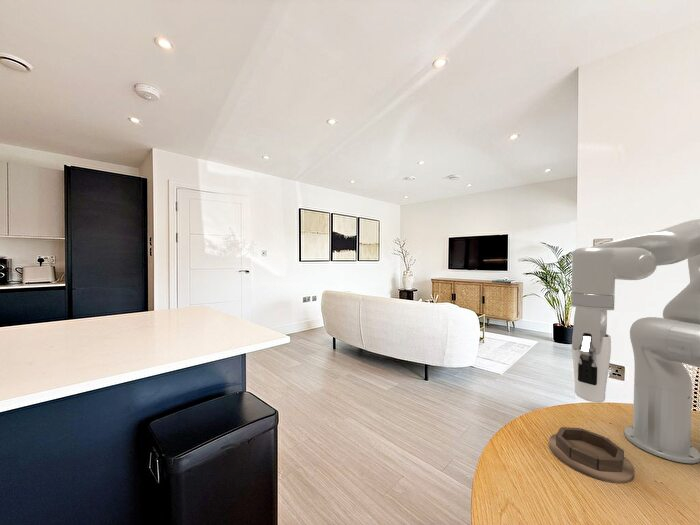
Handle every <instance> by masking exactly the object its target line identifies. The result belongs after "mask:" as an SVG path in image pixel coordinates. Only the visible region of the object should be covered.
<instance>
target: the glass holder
mask: <svg viewBox="0 0 700 525" xmlns="http://www.w3.org/2000/svg"><path fill="white" fill-rule="evenodd" d="M548 447H549V450H550V452H551V454H552V455H554V457H555V458H557V460H559V461H560V462H562V463H563V464H565V465H566V466H568V468H571V469H572V470H574V471H576V472H578V473H580V474H582V475H584V476H587V477H590V478H592V479H595V480H599V481H602V482H606V483H612V484H627V483H630V482H632V481H633V480H634V477H635V468H634V466H633V464H632V462H631V461H630V460H629V459H628V458H627V457H626V456H625V451H624V449H623V448H621V447H620V446H619V445H618V444H616V443H614V442H613V441H612V440H611V439H609V438H607V437H606V436H603V435H601V434H598V433H596V432H593V431H590V430H587V429H584V428H582V427H581V428H580V427H570V426H569V427H567V426H566V427H565V426H561V427H559V429H558V431H557V433H554V434H552V435H550V436H549V438H548Z"/></svg>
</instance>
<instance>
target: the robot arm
mask: <svg viewBox="0 0 700 525" xmlns="http://www.w3.org/2000/svg"><path fill="white" fill-rule="evenodd" d="M571 260H572V261H571V295H570V296H571V298H570V299H571V300H570V302H571V303H570V304H571V307H575V310H574V315H573V316H574V317H573V324H572V325H573V326H572V336H573V339H571V340H572V341H571V349H572V348H573V349H574V350H577V349H579V348H580V356H579V363H578V381H580V382H583V383H587V384H591V385H597V367H596V355H597V354H600V353H601V349H602V344H603V337H606V334H607V327H608V311H615V298H616V297H615V296H616V295H615V294H616V293H615V291H616V286H615V285H616V280H618V281H619V280H620V281H623V280H624V281H639V280H643V279H646V278H649V277H650V276H652V275H653V274H654V272H655V271H656V270H657V267H658V266H667V265H668V266H669V265H673V264H674V265H675V264H677V263H680V262H682V261H686V260H687V266H688V274H689V283H688V284H687V285H686V286H685V287H684V288H683V289H682V290H681V291H680V292H679V293H678V294H677V295H675V296H674V297H673V298H672V299H671V300H670V301H669V302H668V303H666V305H665V306H664V308H663V310H662V317H656V316H655V317H653V316H648V317H641V318H638V319H637V320H635V321H634V322H633V323H632V324H631V326H630V329H629V339H630V343H631V348H632V352H633V360H634V361H633V362H634V373H633V374H634V375H633V376H634V377H633V407H632V408H633V409H632V410H633V412H632V414H633V415H632V426H627V427H625V428H624V432H623V433H624V436H625V438H626V439H627V440H629V442H630V443H632V444H633V445H634V446H635V447H638V448H639V449H642V450H643V451H645V452H647V453H649V454H652V455H655V456H657V457H660V458H663V459H666V460H668V461H673V462H677V463H682V464H696V463H697V464H698V463H699V462H700V451H699V450H698V449H697V448H695V446H693V445H692V444H691V442H692V441H691V439H692V438H691V435H692V434H691V433H692V430H691V429H692V405H693V404H692V400H693V383H692V382H693V381H692V377H691V375H690V373H689V372H688V370H687V369H686V366H685V365H689V366H692V367H695V368H699V369H700V218H699V219H697V218H696V219H692V220H688V221H684V222H681V223H678V224H675V225H672V226H669V227H666V228H664V229H660V230H657V231H653V232H648V233H642V234H639V235H638V234H637V235H635V236H630V237H627V238H621V239H616V240H612V241H607V242H603V243H600V244H597V245H594V246H591V247H581V248H576V249H575V250H573V253H572V259H571ZM591 340H592V342H591ZM580 345H581V346H580ZM591 345H592V348H593V349H594V352H590V346H591ZM579 346H580V347H579ZM590 355H593V357H591V356H590ZM684 364H685V365H684Z"/></svg>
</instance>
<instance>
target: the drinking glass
mask: <svg viewBox="0 0 700 525" xmlns="http://www.w3.org/2000/svg"><path fill="white" fill-rule="evenodd" d="M611 338H612V337H611V335H610V334H607V333H606V337H603V344H602V349H601V353H600V354H597V355H596V367H597V385H591V384H587V383H583V382H580V381H578V363H579V356H580V348H579V349H577V350H574V349H573V348H572V347H571V352H572V362H573V363H572V364H573V377H574V393H575V395H576V396H577V397H579V398H580V399H582V400H584V401H586V402H587V401H588V402H592V403H597V404H600V403H604V402H605V400H606V391H607V390H606V389H607V382H608V376H609V368H610V364H611V363H610V361H611V356H612V355H611V352H612V351H611V350H612V341H611ZM572 339H573V335H572ZM572 339H571V340H572ZM591 342H592V340H591ZM580 346H581V345H580ZM580 346H579V347H580ZM590 352H594V349H593V348H592V345H591V346H590ZM590 356H591V357H593V355H590Z"/></svg>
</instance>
